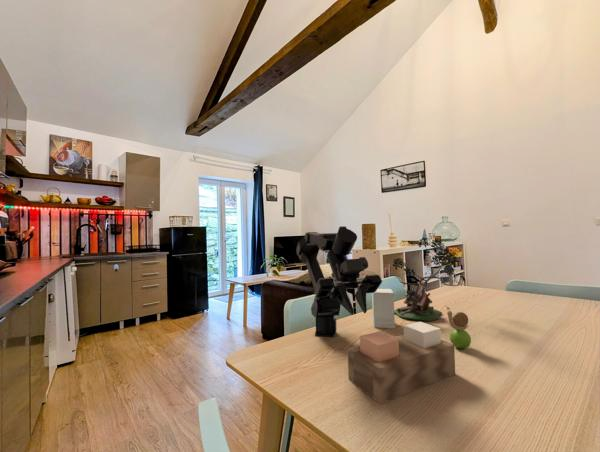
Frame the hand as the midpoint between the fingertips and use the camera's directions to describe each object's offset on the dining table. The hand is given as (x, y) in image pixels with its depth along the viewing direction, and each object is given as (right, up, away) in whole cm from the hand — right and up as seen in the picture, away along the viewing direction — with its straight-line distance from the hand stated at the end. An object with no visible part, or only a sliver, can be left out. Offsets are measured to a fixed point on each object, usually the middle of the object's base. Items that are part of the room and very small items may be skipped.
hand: (359, 313), depth 71 cm
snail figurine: (+31, -13, +9) cm, 35 cm away
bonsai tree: (+38, -14, +40) cm, 57 cm away
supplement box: (+15, -14, +30) cm, 37 cm away
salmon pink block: (+3, -10, -9) cm, 14 cm away
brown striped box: (+9, -13, -6) cm, 17 cm away
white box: (+15, -10, -2) cm, 18 cm away
